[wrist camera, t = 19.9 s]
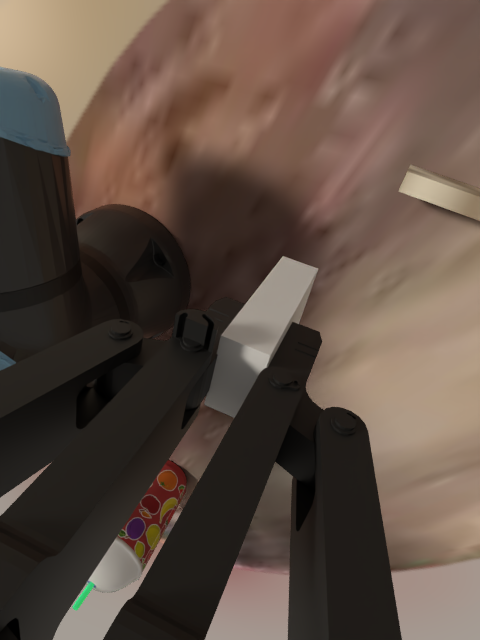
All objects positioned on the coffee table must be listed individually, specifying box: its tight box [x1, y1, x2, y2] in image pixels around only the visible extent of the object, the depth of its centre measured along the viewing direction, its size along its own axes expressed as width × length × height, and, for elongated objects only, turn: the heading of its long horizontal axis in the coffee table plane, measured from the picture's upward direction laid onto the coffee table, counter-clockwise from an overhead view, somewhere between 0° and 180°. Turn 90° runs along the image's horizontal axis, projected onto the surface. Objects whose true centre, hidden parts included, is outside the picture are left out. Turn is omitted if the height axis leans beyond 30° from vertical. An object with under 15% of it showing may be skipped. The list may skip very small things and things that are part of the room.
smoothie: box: [73, 460, 187, 610], centre depth 57 cm, size 8×8×20 cm
